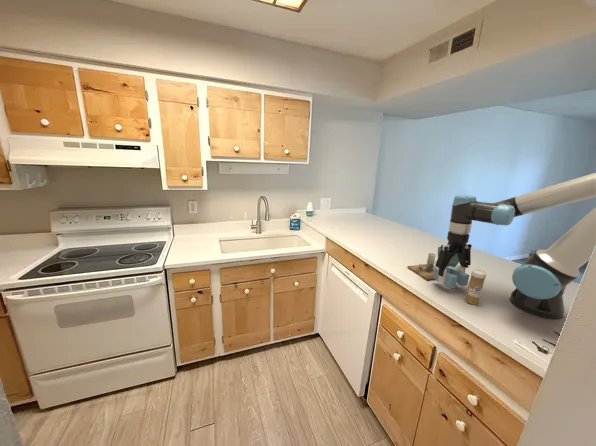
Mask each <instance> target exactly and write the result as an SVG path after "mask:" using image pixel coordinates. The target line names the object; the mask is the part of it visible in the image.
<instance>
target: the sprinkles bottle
mask: <svg viewBox="0 0 596 446" xmlns="http://www.w3.org/2000/svg"><path fill="white" fill-rule="evenodd" d="M486 277H487V273H486V272H485V271H484V270H481V269H476V268H474V269H472V270H471V272H470V278H469V279H470V280H468V285H467V291H466V295H465V299H464V301H465V302H466V303H468V304H470V305H473V306H476V305H479V301H480V298H481V295H482V291H483V287H484V282H485V279H486Z"/></svg>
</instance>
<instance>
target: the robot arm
mask: <svg viewBox="0 0 596 446" xmlns="http://www.w3.org/2000/svg"><path fill="white" fill-rule="evenodd" d="M592 198H594V199H595V198H596V172H593V173H590V174H587V175H583V176H580V177H577V178H573V179H569V180H567V181H563V182H560V183H556V184H553V185H550V186H547V187H543V188H540V189H536V190H534V191H531V192H530V191H529V192H527V193H524V194H521V195H520V194H519V195H517V196H514V197H511V198H507V199H502V200H500V201H497V202H485V201H484V202H483V201H477V196H475V195H470V194H457V195H455V196H454V198H453V201H452V205H451V213H450V220H449V226H448V232H447V237H446V238H447V241H448V243H447V244H446V245H444V244H441V245H440V247H441V251H440V254H439V256H438V255H437V260H436V262H435V264H434V266H435V267H436V268H439V273H438V275H439V278H438V281H437V282H438V283H441V284H442V285H444V283H445V277H446V271H447V270H446V267H447V265H448V263H449V262H450V260H451V258H452V257H453V256H454V255H455V254H457V255H458V259H459V263H458V265H457V269H458V270H460V271H462V272H464V273H466V269H469V267H470V266H471V264H472V262H471V258H472V257H471V256H472V255H471V252H472V251H471V249H472V244H470V243H469V239H470V233H471V229H472V223H473V222H474V221H475V222H480V223H487V224H493V225H496V226H509V225H511V224H512V222H513V221H514V218H517V217H520V216H524V215H529V214H533V213H536V212H541V211H545V210H548V209H553V208H557V207H560V206H565V205H568V204H569V205H570V204H574V203H577V202H582V201H585V200H590V199H592ZM594 245H596V206H595V207H594V208H593V209H592V210H591V211H589V212H588V213H587V214H586V215H585V216H584V217H582V218H581V219H580V220H579V221H578V222H576V224H574V225H573V226H572V227H571V228H570V229H568V231H566V232H565V233H564V234H563V235H562V236H561V237H560V238H558V239H557V240H556V241H554V243H552V244H551V246H549V247H548V248H547V249H544V248H536V247H535V248H532V249H531V250H530V252H529V253H528V258H527V259H526V260H525V261H524V262H523V263H522V264H520V266H517V267H515V269H514V270H513V273H512V276H511V277H512V278H511V279H512V283H513V285H514V287H515V289H514V290H513V291H512V292H511V293H510V297H509V301H510V302H511V303H512V305H514V306H515V307H516V308H519V310H522V311H523V312H526V313H529V314H531V315H534V316H537V317H541V318H544V319H549V320H550V319H551V320H559V319H562V318H563V316H564V313H565V303H564V298H563V296H564V293H565V290H566V288H567V286H568V285H569V284H571V283H572V282H574V281H575V280H576V279H577V278H578V277H580V271H579V269H580V268H581V267H583V266H584V265H585V264H586V263H588V262H589V261H590V260H589V257H590V255H591V252H592V250H593V248H594ZM449 252H450V253H449ZM588 260H589V261H588Z"/></svg>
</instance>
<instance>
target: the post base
mask: <svg viewBox="0 0 596 446" xmlns="http://www.w3.org/2000/svg"><path fill="white" fill-rule="evenodd" d="M436 255H437V254H436V253H432V252H429V253H428V256H427V261H426V264H422V263H419V264H417V265H416V264H415V265H407V269H408V270H410V271H411V272H413V273H414V274H416V275H417V276H419V277H421V278H422V279H423V280H425V281H426V282H431V281H437V280H436V279H434V272H435V268H437V267H436V266H435V260H436Z"/></svg>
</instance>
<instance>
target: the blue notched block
mask: <svg viewBox="0 0 596 446" xmlns="http://www.w3.org/2000/svg"><path fill="white" fill-rule="evenodd" d="M445 269H446V270H447V271H446V277H445V283H444V284H443V285H444V286H446V287H447V288H449V289H453V288H455V289H456V288H457V285H458V286H460V287H468V285H469V281H470V280H469V279H470V274H468V273H466V272H465V273H464V272H462V271H460V270H458V268H456V267H452V266H449V267H446V268H445ZM438 273H439V268H438V267H436V268H435V272H434V279H436V280H435V281H437V282H438V278H439V275H438Z"/></svg>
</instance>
